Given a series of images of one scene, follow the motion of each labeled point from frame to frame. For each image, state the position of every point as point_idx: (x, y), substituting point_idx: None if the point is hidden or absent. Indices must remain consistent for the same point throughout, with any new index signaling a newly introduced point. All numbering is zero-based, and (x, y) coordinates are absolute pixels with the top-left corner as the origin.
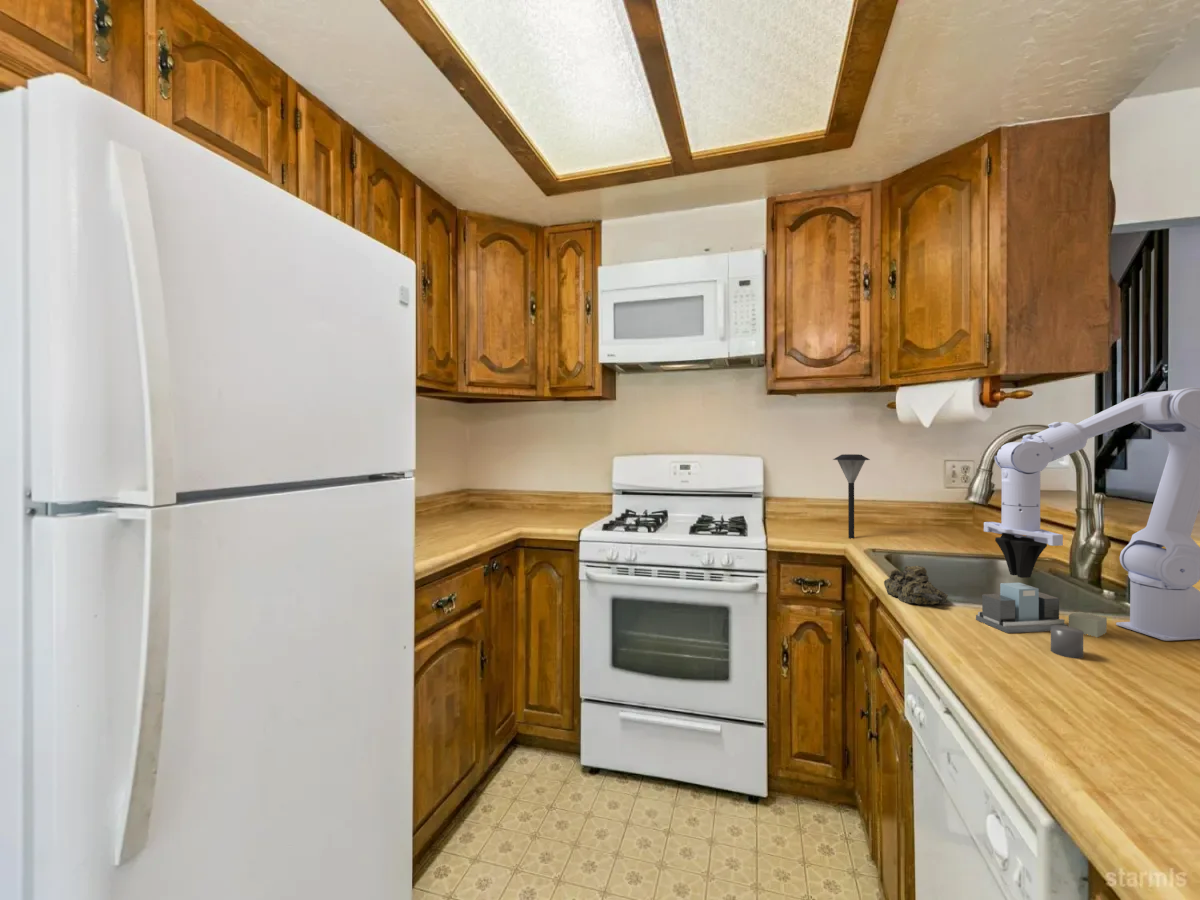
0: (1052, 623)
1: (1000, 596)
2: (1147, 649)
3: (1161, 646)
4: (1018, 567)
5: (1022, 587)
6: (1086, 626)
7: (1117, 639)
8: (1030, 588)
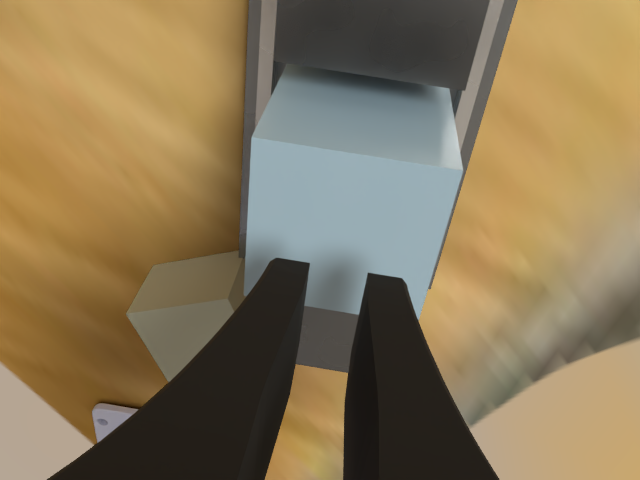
0: None
1: (392, 42)
2: (27, 292)
3: (58, 355)
4: (257, 316)
5: (295, 219)
6: (173, 283)
7: (127, 305)
8: (255, 245)
